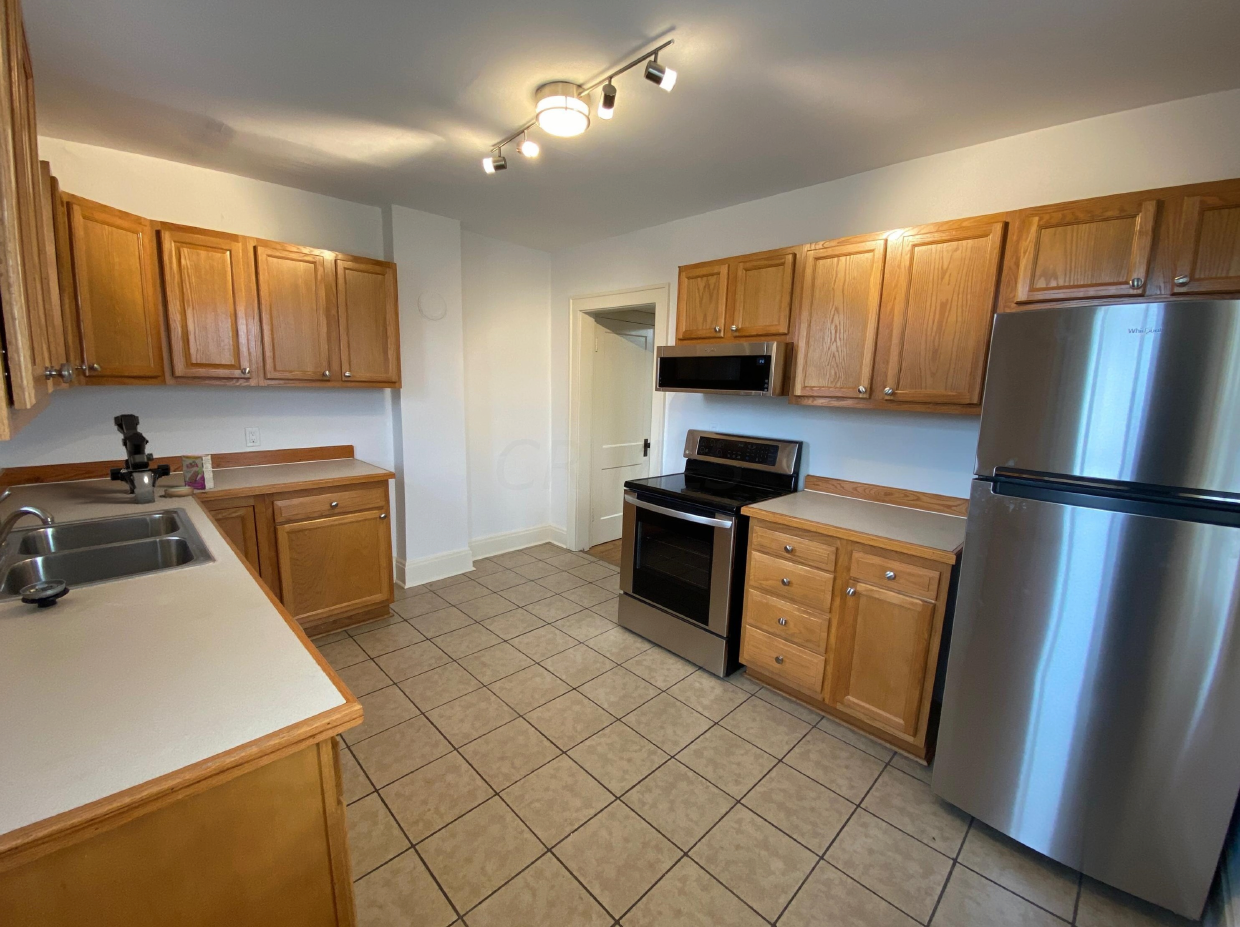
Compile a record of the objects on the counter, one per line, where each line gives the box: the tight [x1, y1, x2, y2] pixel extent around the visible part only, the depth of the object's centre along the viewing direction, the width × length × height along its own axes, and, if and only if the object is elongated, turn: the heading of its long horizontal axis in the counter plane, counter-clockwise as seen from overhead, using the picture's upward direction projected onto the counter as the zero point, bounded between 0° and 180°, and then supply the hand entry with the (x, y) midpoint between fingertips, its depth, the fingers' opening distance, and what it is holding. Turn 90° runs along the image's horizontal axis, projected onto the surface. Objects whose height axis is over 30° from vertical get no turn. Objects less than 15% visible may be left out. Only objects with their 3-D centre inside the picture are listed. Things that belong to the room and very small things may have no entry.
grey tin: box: [132, 471, 156, 505], centre depth 214 cm, size 6×6×13 cm
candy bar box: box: [180, 453, 215, 490], centre depth 242 cm, size 11×5×16 cm, turn 84°
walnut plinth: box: [163, 486, 195, 498], centre depth 229 cm, size 10×10×3 cm
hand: (144, 487), depth 213 cm, fingers closed on grey tin, 6 cm apart
